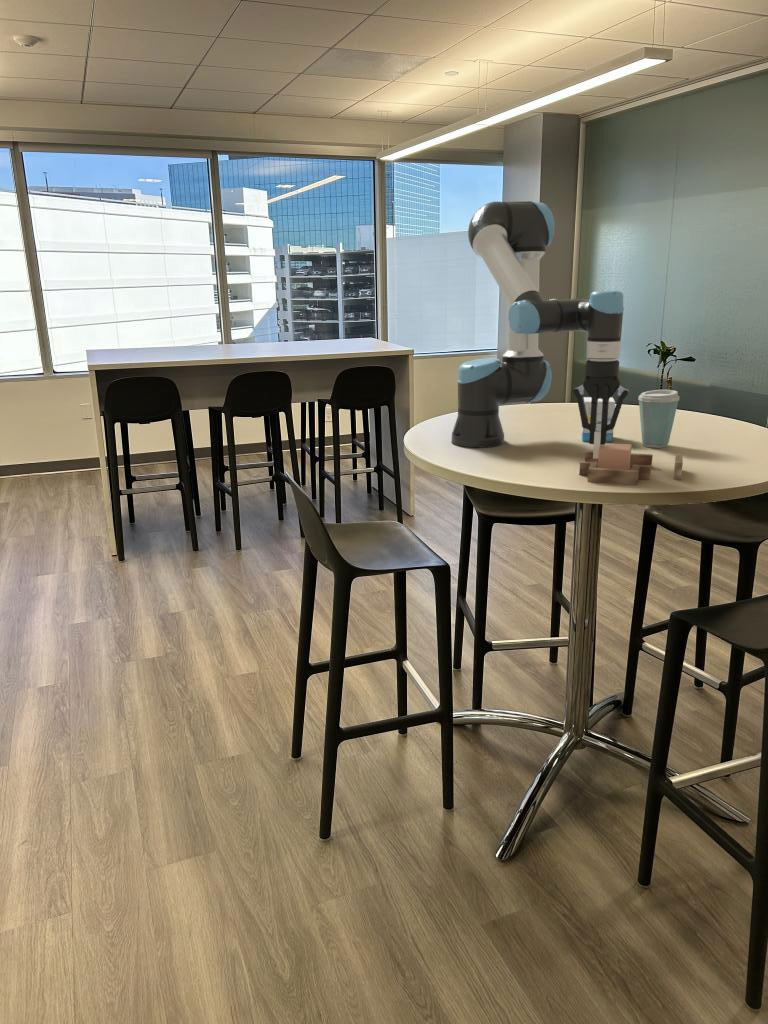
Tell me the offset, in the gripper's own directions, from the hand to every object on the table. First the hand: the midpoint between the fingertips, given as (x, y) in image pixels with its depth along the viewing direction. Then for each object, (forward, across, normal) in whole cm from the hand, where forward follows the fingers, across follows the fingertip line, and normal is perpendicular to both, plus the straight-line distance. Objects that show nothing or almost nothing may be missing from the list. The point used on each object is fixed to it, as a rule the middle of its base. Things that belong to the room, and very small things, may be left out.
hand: (596, 457), depth 183 cm
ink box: (+3, -4, +36) cm, 37 cm away
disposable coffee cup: (+3, +12, +31) cm, 34 cm away
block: (+3, +4, 0) cm, 5 cm away
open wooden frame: (+3, +8, -2) cm, 9 cm away
